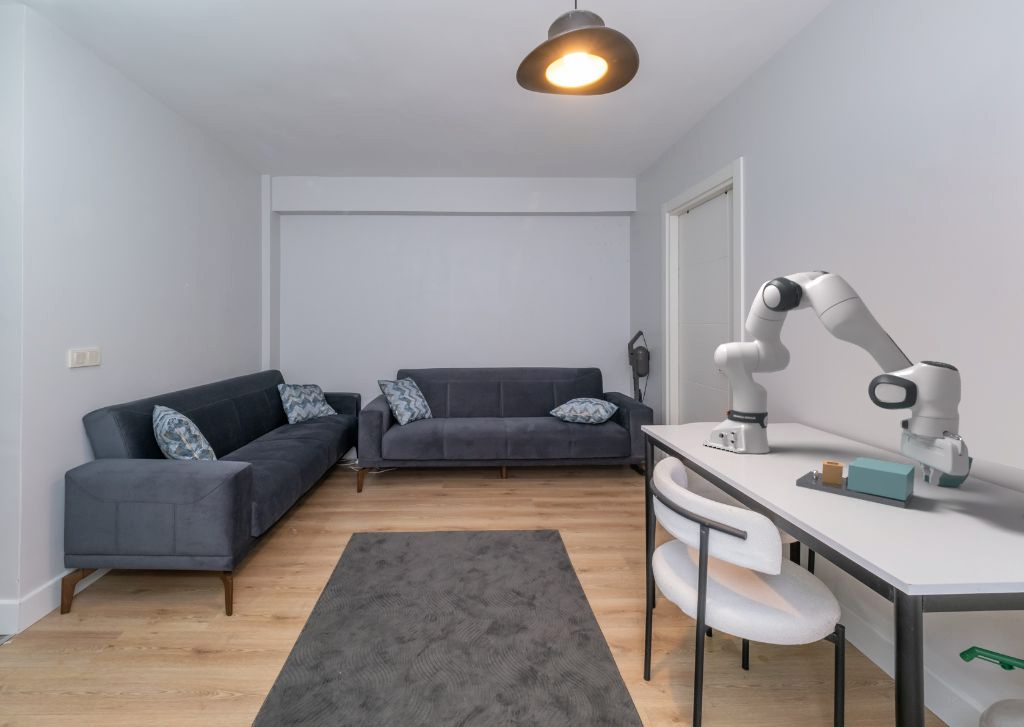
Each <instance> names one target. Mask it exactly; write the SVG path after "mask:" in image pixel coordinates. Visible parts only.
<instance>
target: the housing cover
mask: <svg viewBox="0 0 1024 727" xmlns="http://www.w3.org/2000/svg"><path fill="white" fill-rule="evenodd" d="M915 470H916V466H915V465H913V464H905V463H899V462H893V461H888V460H887V461H886V460H882V459H881V460H880V459H875V458H868V457H861V456H859V457H858V458H856V459H855V460H853V461H852V462H851V463H850V464H848V470H847V472H848V473H847V477H848V487H847V489H850V490H855V491H860V492H865V493H870V494H875V495H880V496H885V497H890V498H895V499H900V500H906V499H907V498H908V496H909V495H910V494H911V492H912V491H914V490H915V489H914V488H915V487H914V486H915Z"/></svg>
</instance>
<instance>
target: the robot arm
mask: <svg viewBox="0 0 1024 727" xmlns="http://www.w3.org/2000/svg"><path fill="white" fill-rule="evenodd" d="M750 307H751V308H750V311H749V313H748V316H747V318H746V322H745V325H744V327H745V330H746V332H747V334H748V336H750V337H751V338H753V339H754V341H749V342H748V341H733V342H732V341H731V342H726V343H721V344H720V345H719V346H717V348H716V349H715V351H714V354H713V355H714V356H713V360H714V365H715V366H716V368H718V370H720V371H721V372H722V373H723V374H724V375H725V376H726V377H727V379H728V380H729V383H730V385H731V388H732V390H731V391H732V408H731V409H729V410H727V411H725V416H727V418H726V419H725V420H723V421H722V422H720V423H718V424H717V425H715V426H714V427H713V428H711V431H710V434H709V438H707V439H705V440H703V442H702V445H703V444H704V445H703V446H705V445H707V446H706V447H709V446H712V447H711V448H713V447H716V448H715V449H717V448H721V449H720V450H722V449H725V450H724V451H726V450H729V451H728V452H730V451H733V452H732V453H734V452H737V453H736V454H767V453H770V452H771V449H770V446H769V440H768V432H767V430H768V429H767V428H768V424H769V416H768V414H769V413H768V410H767V408H768V407H767V405H768V404H767V403H768V391H767V389H766V388H765V387H764V386H763V385H761V384H760V383H758V382H756V381H755V380H754V379H753V378H754V377H753V374H754V373H757V374H758V373H762V374H763V373H765V374H766V373H769V374H770V373H776V372H781V371H784V370H786V369H787V367H788V366H789V364H790V361H791V353H790V351H789V349H788V347H786V345H784V344H783V342H782V341H781V332H782V329H783V326H784V323H785V320H786V318H787V315H788V313H789V311H799V310H800V311H801V310H804V309H807V308H812V309H813V311H814V312H815V314H816V316H817V317H818V318H819V320H820V322H821V323H822V325H823V327H824V328H825V330H827V332H829V333H830V334H831V335H832V336H833V337H834V338H835V339H838V340H841V341H844V342H847V343H850V344H852V345H853V344H854V345H856V346H857V347H860V349H863V350H864V351H866V352H867V353H868V354H869V355H870V356H871V357H872V358H873V359H874V361H875V362H876V363H877V364H878V366H879V367H880V368H881V369H882V370H883V372H884V373H882V374H879V375H877V376H874V378H872V380H871V381H870V382H869V385H868V396H869V398H870V400H871V402H872V403H873V404H874V405H875V406H877V407H879V408H881V409H884V410H890V411H895V410H907V409H908V410H910V411H911V417H909V418H906V419H901V420H900V424H899V425H900V426H899V427H900V428H901V429H902V430H901V431H900V432H901V433H900V451H901V453H902V455H903V456H905V457H907V458H910V459H912V460H914V461H917V462H919V463H920V462H921V466H920V469H921V472H922V474H923V477H922V478H923V479H922V480H923V481H924V482H925V483H928V484H929V485H933V486H938V484H939V478H940V477H941V475H942V474H943V472H945V473H947V474H949V475H957V476H965V475H966V474H967V473H968V472H969V457H970V456H969V450H968V449H969V448H968V446H967V445H966V442H965V441H964V440H963V439H962V436H961V435H959V428H960V414H959V404H960V402H961V399H962V398H961V397H962V381H961V374H960V371H959V369H958V368H957V367H955V366H954V365H952V364H949V363H946V362H941V361H932V360H921V361H919V362H918V363H916V364H913V363H912V361H911V360H910V359H909V358H908V356H907V355H906V354H905V353H904V351H902V349H901V348H900V347H899V346H898V345H897V343H896V342H895V341H894V340H893V338H892V337H891V336H890V335H889V333H887V331H886V330H884V328H883V327H882V325H881V324H880V323H879V322H878V320H877V319H876V318H875V316H874V315H873V313H871V311H870V310H869V307H867V305H866V304H865V302H864V301H863V299H862V298H861V296H860V295H859V294H858V293H857V291H856V290H855V289H854V288H853V287H852V285H850V283H848V282H847V280H845V279H844V278H843V277H842V276H841V275H839V274H838V273H831V272H829V271H825V270H813V271H804V272H797V273H794V274H789V275H786V276H781V277H776V278H773V279H771V280H770V279H769V280H767V281H766V282H764V283H763V284H762V285H761V286H760V288H759V290H758V292H757V294H756V296H755V297H754V300H753V301H752V303H751V306H750ZM969 473H970V472H969Z"/></svg>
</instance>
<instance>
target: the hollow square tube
mask: <svg viewBox="0 0 1024 727" xmlns="http://www.w3.org/2000/svg"><path fill="white" fill-rule="evenodd" d="M843 466H844V463H843V462H841V461H840V462H838V461H830V460H825V459H824V460H822V472H821V473H822V482H828V483H834V484H841V485H842V477H843V471H844V470H843V469H844V467H843Z"/></svg>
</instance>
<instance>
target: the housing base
mask: <svg viewBox="0 0 1024 727" xmlns="http://www.w3.org/2000/svg"><path fill="white" fill-rule="evenodd" d="M795 486H797V487H802V488H805V489H806V488H807V489H810V490H816V491H821V492H826V493H829V494H835V495H839V496H845V497H850V498H854V499H858V500H859V499H860V500H863V501H868V502H872V503H878V504H882V505H888V506H890V507H891V506H892V507H896V508H901V509H905V508H906V507H907V505H908V504H909V503H910V501H911V500H912V499H913V497H914V493H915V492H914V490H913V491H912V492H911V494H910V495H909V496H908V498H907V499H906V500H900V499H895V498H890V497H885V496H880V495H875V494H870V493H865V492H860V491H855V490H850V489H847V487H848V476H846V477H843V476H842V485H841V484H834V483H828V482H822V472H819V470H813V471H809V472H807V473H805V474H804V475H802V476H800V477H799V478H797V479H796V481H795Z"/></svg>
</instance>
